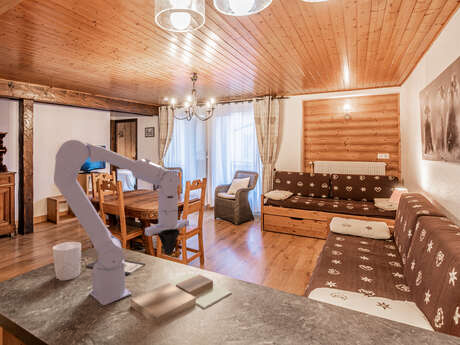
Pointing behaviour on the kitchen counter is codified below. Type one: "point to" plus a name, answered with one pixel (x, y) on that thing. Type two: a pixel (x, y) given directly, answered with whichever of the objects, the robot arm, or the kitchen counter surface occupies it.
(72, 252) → the white cup
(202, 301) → the sage mat
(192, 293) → the walnut tile
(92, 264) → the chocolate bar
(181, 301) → the block
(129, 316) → the kitchen counter surface
